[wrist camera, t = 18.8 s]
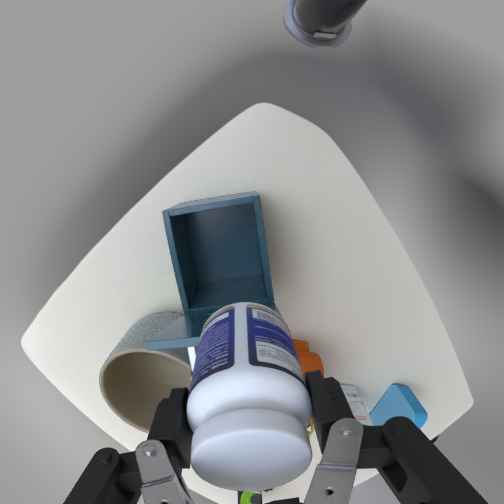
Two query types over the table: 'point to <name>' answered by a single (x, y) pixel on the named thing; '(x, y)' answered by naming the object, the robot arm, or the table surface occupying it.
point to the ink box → (356, 405)
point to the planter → (143, 372)
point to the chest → (219, 252)
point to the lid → (186, 333)
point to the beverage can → (249, 497)
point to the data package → (399, 407)
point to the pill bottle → (248, 401)
